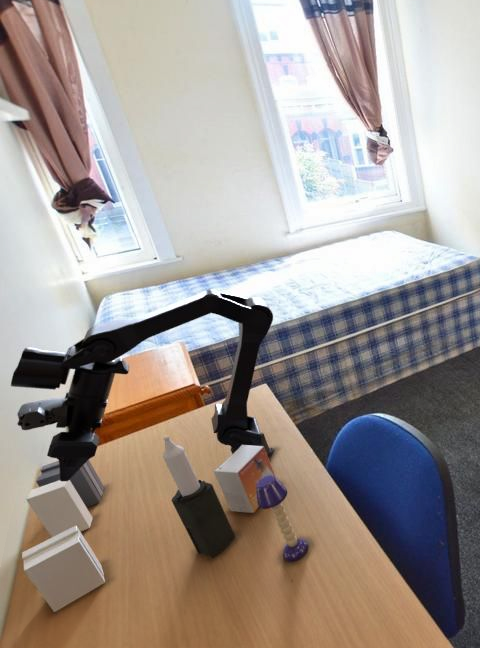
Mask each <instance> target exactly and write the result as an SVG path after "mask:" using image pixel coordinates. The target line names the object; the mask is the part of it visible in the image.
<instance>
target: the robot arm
mask: <svg viewBox="0 0 480 648" xmlns="http://www.w3.org/2000/svg"><path fill="white" fill-rule="evenodd" d="M210 314H213V315H217V316H220V317H222V318H225V319H228V320H230V321H232V322H235V323H238V324H237V325H238V342H237V346H236V347H237V348H236V351H235V357H234V361H233V366H232V371H231V375H230V380H229V384H228V389H227V393H226V397H225V399H224V400H223V402H222V403H215V404H214V413H213V415H212V417H211V418H210V420H211V424H212V430H213V434H216V435H215V436H216V439H217V441H218V442H219V443H220V444H221V445H224V446H230V452H231V455H232V454H233V453H234V452H235V451H237V450H238V449H239V447H240V446H241V445H252V446H264V447H265V450H266V453H267V455H268V458H269V459H270V457H271V456H272V455H273V453H274V451H275V448H274V447H270V446H269V444H268V441H267V437H266V436H265V433H264V432H261V430H260V427H259V425H258V422H257V418H256V417H254V416H250V415H248V400H249V396H250V391H251V386H252V382H253V378H254V374H255V368H256V365H257V359H258V355H259V351H260V346H261V344H262V342H263V341H264V339H266V337H267V335H268V333H269V330H270V329H271V326H272V324H273V321H274V313H273V311H272V310H271V308H270V306H269V305H268V304H267V302H266V301H265V300H263V299H262V298H260V297H257V296H256V297H253V296H252V297H248V298H247V297H245V296H244V297H243V296H241V295H238V294H237V295H236V294H231V293H225V292H221V291H218V290H216V289H211V288H209V289H205V290H204V291H202V292H200V293H198V294H196V295H193V296H189V297H188V298H185V299H183V300H180V301H177V302H175V303H172V304H169V305H166V306H165V307H164V306H163V307H162V308H161V307H160V308H158V309H156V310H153V311H151V312H148V313H145V314H143V315H140V316H136V317H131V318H122V319H116V320H112V321H111V320H110V321H106V322H102V323H98V324H96V325H93V326H92V327H90V328H89V329H87V331H86V332H85V335H84V338H83V339H81V340H79V341H78V342H76V343H74V344H73V345H71V346H70V347H69V348H67V351H66V352H62V351H55V350H46V349H45V350H44V349H40V348H37V347H36V348H35V347H29V346H27V347H25V348H24V349H23V350H22V353H21V356H20V358H19V361H18V363H17V366H16V368H15V369H14V371H13V373H12V377H11V380H10V387H12V388H13V387H15V388H27V389H28V388H29V389H39V390H40V389H41V390H42V389H43V390H52V391H53V390H55V391H56V389H60V387H61V385H63V386H65V385H66V384H67V382H68V378H69V375H70V371H71V370H74V372H73V375H72V378H71V382H70V386H69V390H68V391H66V393H65V397H58V398H49V399H43V400H36V401H31V402H26V403H23V404H21V406H20V407H19V409H18V412H17V417H18V421H17V426H19V427H20V428H21V429H20V430H22V431H30V430H33V429H37V428H43V427H45V426H51V425H54V424H55V428H57V429H65V428H66V429H67V430H68V431H60V432H58V433H57V434H55V435H53V436H52V438H51V441H50V444H49V446H48V451H47V454H46V456H47V457H48V458H52V459H57V461H59V469H60V481H69V480H70V479H71V477H72V476H73V475H74V474H75V473H76V472H77V471H78V470H79V469H80V468H81V467H82V466H83V465H84V464H85V463H86V462H87V461H88V460H89V461H90V459H92V458H94V457H95V456H96V454H97V450H98V446H99V441H100V436H98V435H97V433H95V431H96V430H97V429H101V426H102V422H103V418H104V416H105V412H106V408H107V405H108V400H109V396H110V393H111V390H112V386H113V382H114V380H115V377H116V376H115V375H116V374H117V375H128V374H129V371H130V365H129V364H128V363H127V362H126V361H125V360H124V358H123V357H122V356H124V355H125V354H127V353H128V352H131V351H133V349H135V348H136V347H138V345H140V344H141V343H142V342H144V341H146V340H148V339H150V338H152V337H155V336H158V335H159V334H162V333H165V332H167V331H170V330H172V329H175V328H177V327H180V326H182V325H184V324H187V323H190V322H192V321H195V320H197V319H200V318H202V317H206V316H207V315H210Z"/></svg>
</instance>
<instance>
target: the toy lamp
mask: <svg viewBox="0 0 480 648" xmlns="http://www.w3.org/2000/svg"><path fill="white" fill-rule="evenodd" d="M256 491H257V503H258V506H259V507H258V508H260V509H262V510H269V509H271V513H272V514H273V515H274V518H275V520H276V521H277V525H278V527H279V528H280V532H281V533H282V534H283V538H284V539H285V540H286V544H285V546H284V548H283V551H282V556H283V559H284V561H286V562H295V561H298V560H300V559H301V558H302V557H304V556H305V554H307V552H308V550H309V543H308V541H307V540H306V539H304V538H301V537H297V536H296V533H295V530H293V526H292V524H291V522H290V519H289V517H288V516H287V512H286V511H285V510H284V505H283V504H282V502H284V501H285V499H286V498H287V496H288V489H287V488H286V486H285V485H284V484H283V483H282V482H281V481H280V480H279V479H278V478H277V477H276V475H275V476H273V475H267V476H264V477H262V478H261V479H260V480H259V481H258V482H257V484H256Z"/></svg>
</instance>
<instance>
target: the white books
mask: <svg viewBox="0 0 480 648" xmlns="http://www.w3.org/2000/svg"><path fill="white" fill-rule="evenodd" d="M21 556H22V557H21V558H22V560H23V571H24V573H25V574H26V575H27V577H28V579H29V580H30V581H31V582H32V584H33V585H34V586H35V588H36V589H37V590H38V592H39V593H40V595H41V596H42V598H43V599H44V600H45V602H46V603H47V605H48V606H49V607H50V609H51V610H52V611H53V613H56V612H57V611H60V610H61V609H63V608H64V607H66V606H68V605H70V604H71V603H73V602H75V601H76V600H78V599H80V598H81V597H83V596H85V595H86V594H88V593H90V592H92V591H94V590H95V589H97V588H98V587H100V586H102V585H104V584H105V583H106V581H105V574H104V570H103V566H102V564H101V562H100V561H99V559H98V556H96V554H95V553H94V551H93V550H92V548H91V546H90V544H89V543H88V542H87V540H86V538H85V537H84V535H83V534H82V531H81V532H80V530H79V529H78V527H77V526H74V527H72V528H70V529H68V530H66V531H64V532H62V533H60V534H58V535H56V536H54V537H50V538H48V539H46V540H45V541H42V542H40V543H38V544H36V545H34V546H32V547H30V548H29V549H27V550H24V551H23V552H22V553H21Z"/></svg>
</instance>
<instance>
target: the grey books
mask: <svg viewBox="0 0 480 648" xmlns="http://www.w3.org/2000/svg"><path fill="white" fill-rule="evenodd" d="M59 480H60V469H59V460H56V461H54V462H51V463H48V464H45V465H42V466H41V468H40V475H38V477H37V478H36V480H35V483H36V484H37V486H38V487H41V486H44V485H47V484H50V483H53V482H56V481H59ZM70 481H71V483H72V485H73V486H74V488H75V490H76V491H77V493H78V494H79V496H80V498H81V499H82V501H83V503H84V504H85V506H86V508H88V507H91V506H93V505H96V504H99V503H101V499H102V497H103V494H104V491H105V485H104V483H103V482H102V481H101V479H100V477H99V475H98V473H97V472H96V470H95V468H94V466H93V464H92V463H91V461H90V459H89V460H88V461H87V462H86V463H85V464H84V465H83V466H82V467H81V468H80V469H79V470H78V471H77V472H76V473H75V474H74V475H73V476H72V477H71V479H70Z"/></svg>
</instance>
